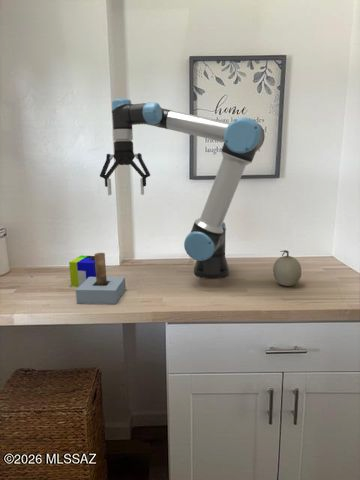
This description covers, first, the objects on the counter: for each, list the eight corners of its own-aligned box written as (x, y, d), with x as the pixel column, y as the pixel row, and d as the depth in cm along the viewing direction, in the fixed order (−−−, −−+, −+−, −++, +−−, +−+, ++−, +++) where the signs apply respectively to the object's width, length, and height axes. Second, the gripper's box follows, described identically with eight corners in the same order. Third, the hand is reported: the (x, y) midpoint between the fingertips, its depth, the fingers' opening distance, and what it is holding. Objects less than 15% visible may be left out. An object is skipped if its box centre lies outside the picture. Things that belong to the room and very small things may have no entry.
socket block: (125, 289, 135) (125, 277, 133) (116, 304, 121) (115, 290, 120) (90, 289, 136) (89, 276, 135) (76, 303, 122) (75, 289, 121)
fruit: (294, 279, 143) (296, 243, 140) (304, 289, 132) (307, 250, 129) (268, 280, 143) (270, 244, 139) (277, 290, 132) (278, 251, 128)
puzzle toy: (94, 287, 138) (92, 263, 135) (71, 286, 140) (69, 262, 137) (104, 279, 147) (103, 256, 145) (82, 278, 149) (81, 255, 147)
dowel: (108, 294, 130) (105, 252, 126) (106, 298, 126) (103, 255, 123) (99, 294, 130) (96, 252, 127) (96, 298, 127) (93, 255, 123)
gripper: (155, 140, 142) (157, 193, 146) (95, 142, 143) (99, 194, 148) (153, 139, 134) (154, 195, 139) (89, 141, 136) (93, 195, 141)
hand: (126, 194), depth 143 cm, fingers open, 13 cm apart
